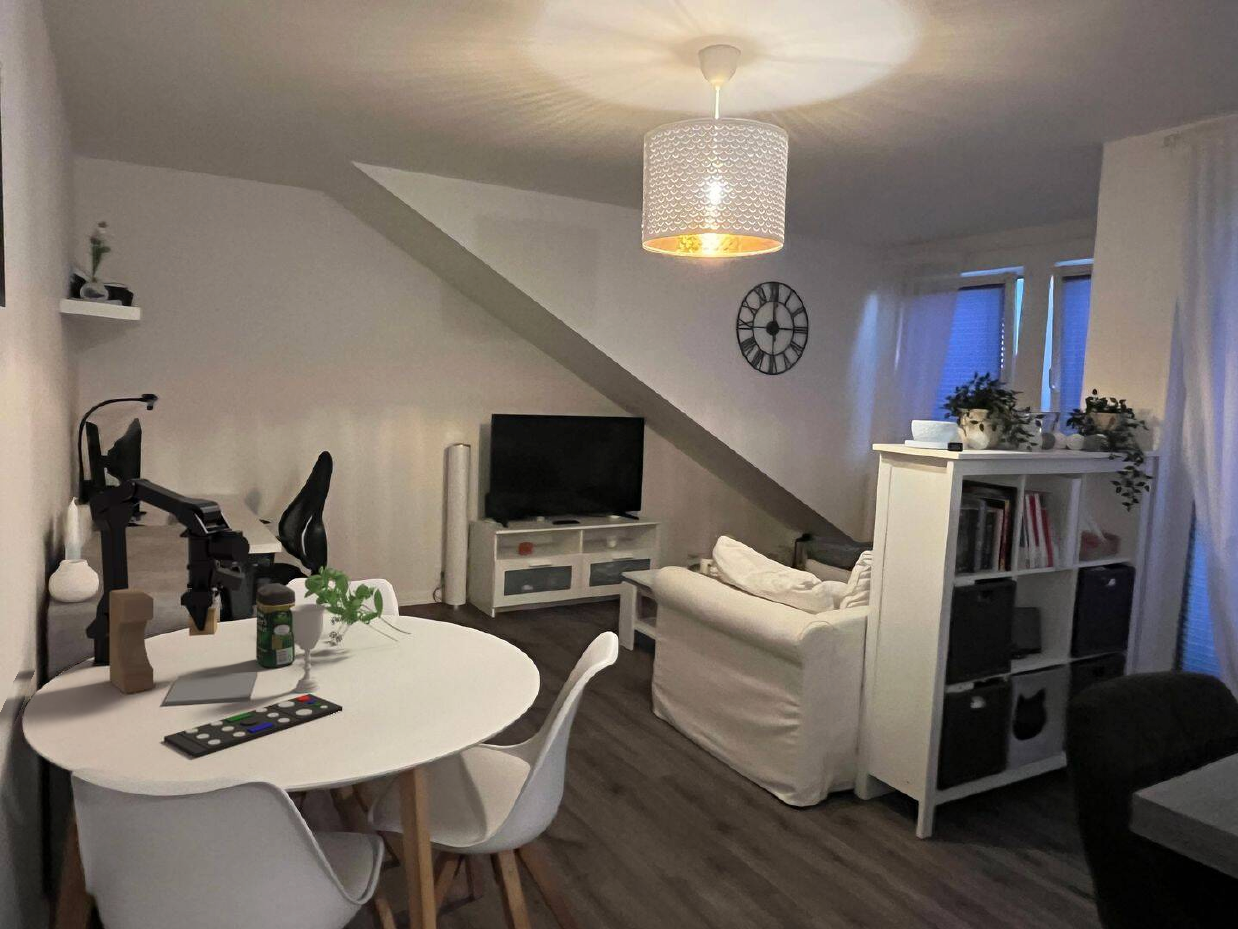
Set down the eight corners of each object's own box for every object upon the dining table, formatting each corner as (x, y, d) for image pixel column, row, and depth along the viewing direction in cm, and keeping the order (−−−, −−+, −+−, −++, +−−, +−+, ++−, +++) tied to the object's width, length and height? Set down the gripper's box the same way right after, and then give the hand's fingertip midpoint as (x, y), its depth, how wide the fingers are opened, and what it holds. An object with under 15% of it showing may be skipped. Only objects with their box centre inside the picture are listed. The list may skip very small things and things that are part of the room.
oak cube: (189, 635, 186) (188, 613, 185) (192, 629, 190) (192, 607, 190) (214, 634, 187) (214, 612, 187) (217, 628, 192) (217, 606, 192)
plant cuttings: (341, 646, 238) (276, 606, 226) (377, 594, 243) (316, 553, 231) (395, 682, 211) (326, 639, 199) (434, 622, 217) (369, 578, 204)
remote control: (342, 713, 173) (342, 704, 173) (195, 761, 149) (195, 750, 149) (309, 700, 180) (309, 691, 180) (164, 744, 155) (164, 733, 155)
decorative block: (154, 689, 180) (153, 597, 179) (124, 695, 176) (123, 601, 175) (138, 676, 188) (138, 587, 186) (109, 681, 184) (108, 590, 182)
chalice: (290, 696, 180) (292, 613, 178) (287, 686, 186) (288, 605, 184) (326, 692, 183) (328, 610, 182) (322, 682, 189) (323, 603, 188)
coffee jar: (251, 659, 203) (252, 583, 201) (285, 654, 207) (286, 579, 206) (263, 670, 195) (264, 591, 193) (298, 665, 200) (299, 587, 198)
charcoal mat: (163, 705, 172) (163, 702, 172) (179, 679, 187) (179, 676, 187) (249, 700, 177) (249, 696, 177) (257, 675, 192) (257, 671, 192)
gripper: (237, 565, 181) (238, 636, 183) (246, 549, 199) (246, 615, 200) (179, 567, 178) (180, 640, 179) (193, 551, 195) (194, 617, 197)
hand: (203, 627), depth 189 cm, fingers closed on oak cube, 5 cm apart
